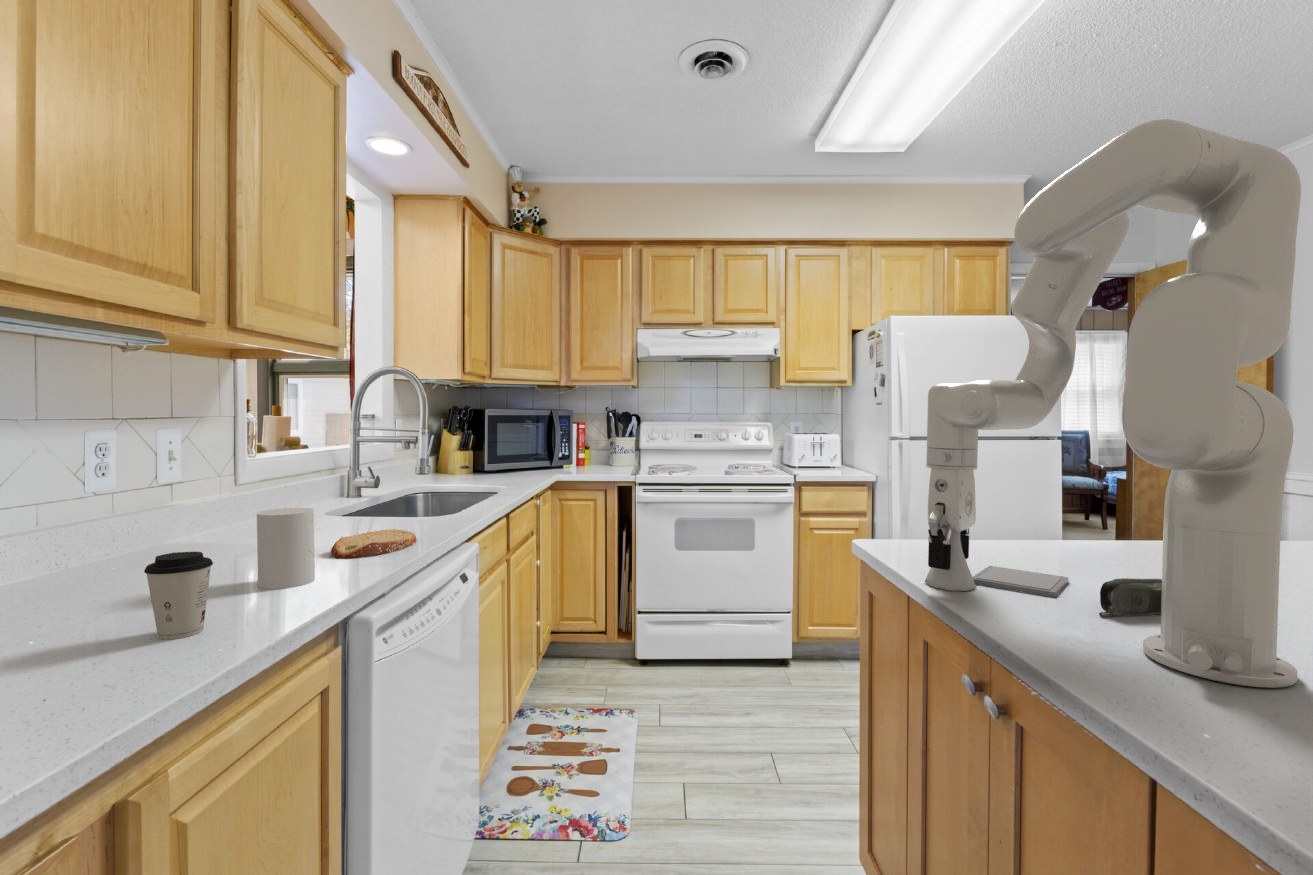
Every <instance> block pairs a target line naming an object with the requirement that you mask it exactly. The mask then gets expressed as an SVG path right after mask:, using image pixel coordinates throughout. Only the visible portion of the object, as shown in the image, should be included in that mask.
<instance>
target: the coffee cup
mask: <svg viewBox="0 0 1313 875" xmlns="http://www.w3.org/2000/svg"><path fill="white" fill-rule="evenodd" d="M213 564H214V562H213V560H212V558H209V557H204V554H203V552H201V551H179V552H178V551H176V552H169V553H163V554H160V555H156V556H155V558H154V562H152V563H149V564H147V565H146V567H145V569H144V571H143V572H144V573H145V574H146V577H147V584H148V588H149V594H150V600H151V605H152V610H153V616H154V623H155V628H156V633H157V637H158V639H160V640H175V639H176V640H177V639H182V638H188V637H191V636H195V635H197V634H200V633H201V632H203V630H204V626H205V620H206V613H207V612H206V611H207V604H208V603H207V602H208V595H209V594H208V593H209V585H210V577H211V570H212V566H213Z"/></svg>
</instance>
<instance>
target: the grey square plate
mask: <svg viewBox="0 0 1313 875" xmlns="http://www.w3.org/2000/svg"><path fill="white" fill-rule="evenodd" d="M972 578H973V580H974V583H975V585H979V586H984V587H988V588H989V587H992V588H995V587H996V589H1002V590H1008V591H1012V592H1013V591H1014V592H1019V591H1020V592H1019V593H1026V594H1031V593H1032V594H1031V595H1039V596H1043V595H1045V596H1044V597H1049V598H1056V597H1057V596H1058V595H1059V594H1060V592H1061V591H1062V590H1063V589H1064V588H1065V587H1066V586H1067V585H1068V583H1069V577H1068V576H1061V575H1055V574H1049V573H1041V572H1035V571H1034V572H1033V571H1029V570H1028V571H1027V570H1021V569H1013V568H1008V567H1007V568H1006V567H1003V566H1002V567H1000V566H995V565H994V566H993V565H988V566H987V567H985V568H984V569H983V570H981V571H979V572H978V573H976V574H975V575H972ZM1058 593H1059V594H1058Z"/></svg>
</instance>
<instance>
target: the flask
mask: <svg viewBox="0 0 1313 875" xmlns="http://www.w3.org/2000/svg"><path fill="white" fill-rule="evenodd" d="M943 534H944V535H945V532H944V531H943ZM948 544H950V545H951V565H950V569H949V570H944V569H938V568H932V567H929V570H928V573H927V575H926V577H925V580H924V583H926V584H927V585H930V586H931V587H933V588H937V589H942V590H944V591H945V590H946V591H949V592H950V591H963V592H964V591H967V592H968V591H970V590H974V589H976V588H977V586H976V585H977V584H975V583H974V580H973V578H972V577H973V575H972V573H971V571H970V568H969V565H968V562H967V559H965V556H964V554H963V551H962V546H961V540H960V532H956V531H955V529H952V532H951V536H950V540H949V543H948Z"/></svg>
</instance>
